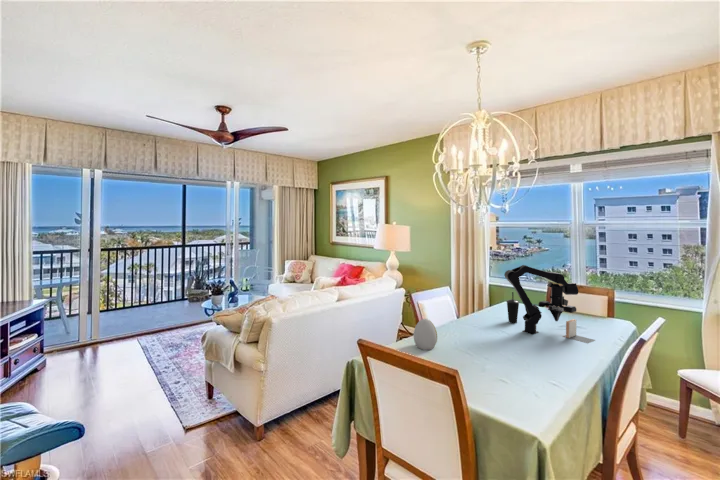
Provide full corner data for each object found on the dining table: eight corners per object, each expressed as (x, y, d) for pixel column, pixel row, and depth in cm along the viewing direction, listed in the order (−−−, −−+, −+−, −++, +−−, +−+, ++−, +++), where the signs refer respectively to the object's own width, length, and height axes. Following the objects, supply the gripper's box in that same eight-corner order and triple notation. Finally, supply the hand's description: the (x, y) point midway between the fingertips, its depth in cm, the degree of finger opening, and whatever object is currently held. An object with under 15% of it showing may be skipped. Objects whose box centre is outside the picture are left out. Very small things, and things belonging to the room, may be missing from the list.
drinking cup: (512, 324, 210) (512, 293, 210) (503, 321, 218) (503, 291, 217) (522, 323, 212) (522, 292, 212) (513, 320, 220) (513, 290, 219)
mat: (587, 344, 174) (587, 343, 174) (562, 337, 186) (562, 336, 186) (596, 340, 179) (596, 340, 179) (570, 334, 190) (570, 333, 190)
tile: (569, 338, 183) (569, 322, 182) (566, 337, 184) (566, 321, 184) (576, 335, 187) (576, 319, 187) (573, 334, 188) (573, 319, 188)
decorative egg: (442, 347, 173) (441, 318, 173) (427, 353, 165) (427, 323, 165) (423, 341, 183) (423, 314, 182) (408, 347, 174) (408, 318, 174)
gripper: (581, 295, 188) (581, 322, 188) (548, 290, 204) (548, 315, 204) (571, 298, 182) (571, 326, 183) (538, 292, 198) (537, 318, 199)
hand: (556, 321), depth 192 cm, fingers closed
